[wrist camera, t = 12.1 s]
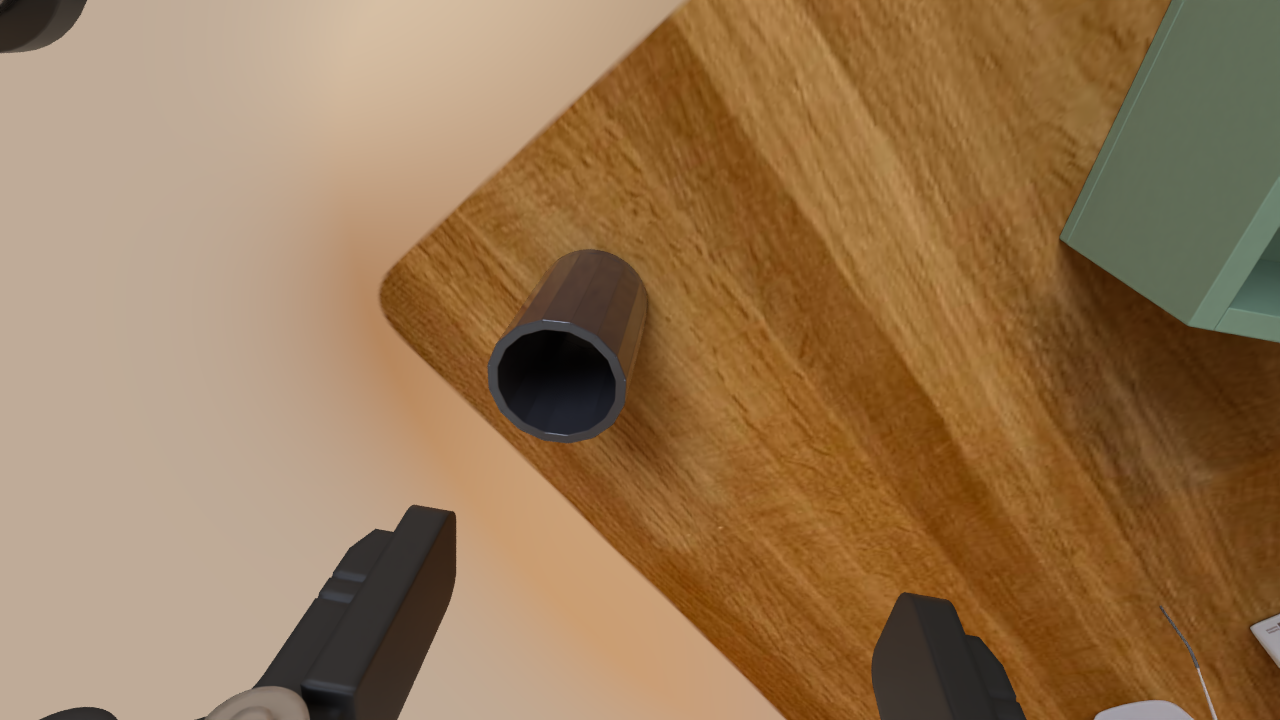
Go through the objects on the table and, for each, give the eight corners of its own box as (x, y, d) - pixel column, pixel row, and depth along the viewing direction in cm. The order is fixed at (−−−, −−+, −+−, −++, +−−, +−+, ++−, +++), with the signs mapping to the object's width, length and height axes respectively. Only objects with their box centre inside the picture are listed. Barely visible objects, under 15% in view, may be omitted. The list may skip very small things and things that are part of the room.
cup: (518, 293, 32) (459, 374, 25) (596, 226, 30) (556, 292, 23) (591, 368, 33) (555, 464, 26) (670, 309, 31) (654, 396, 24)
